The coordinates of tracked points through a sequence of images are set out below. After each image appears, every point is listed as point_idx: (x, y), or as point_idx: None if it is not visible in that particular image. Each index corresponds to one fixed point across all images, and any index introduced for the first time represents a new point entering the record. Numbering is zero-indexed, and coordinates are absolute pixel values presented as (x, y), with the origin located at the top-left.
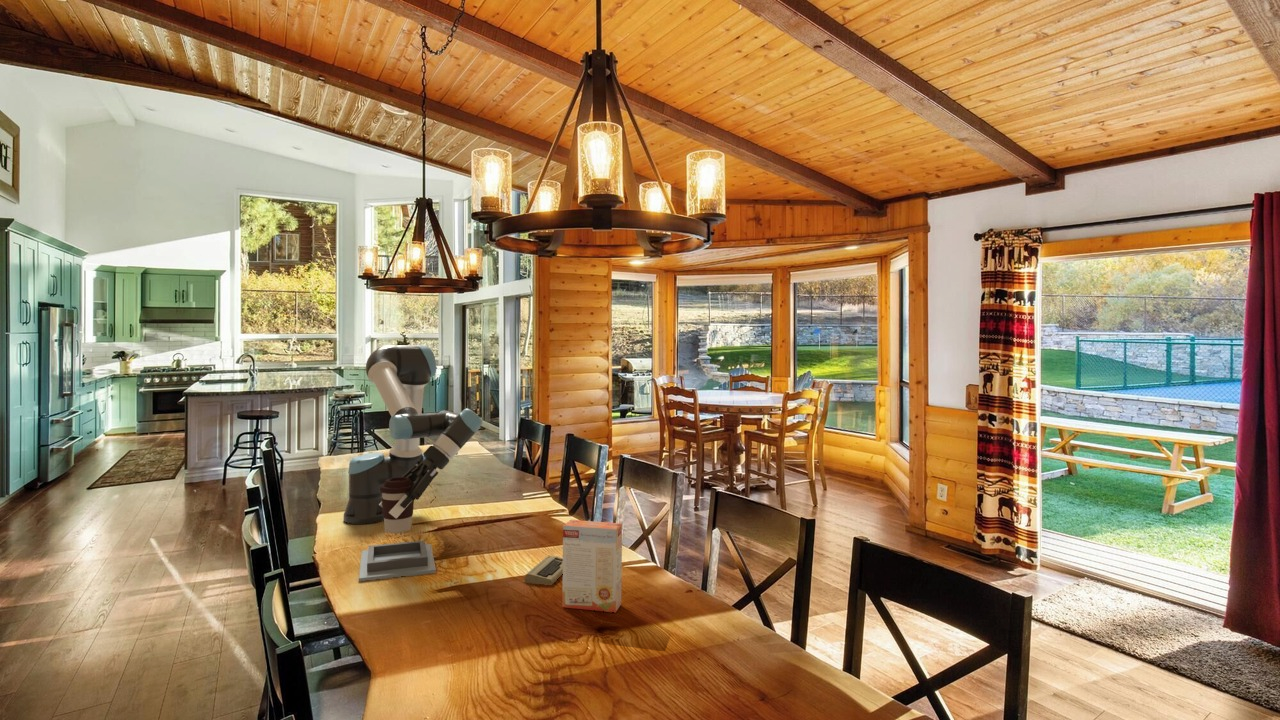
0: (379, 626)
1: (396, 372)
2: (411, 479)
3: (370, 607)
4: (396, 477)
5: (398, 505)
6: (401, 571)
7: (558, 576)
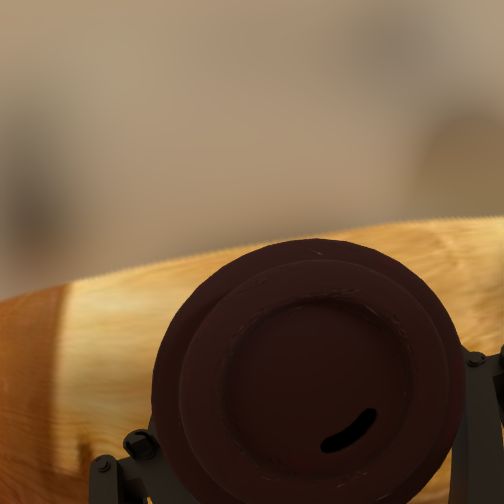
0: (18, 325)
1: None
2: (456, 491)
3: (69, 320)
4: (433, 362)
5: None
6: None
7: None
